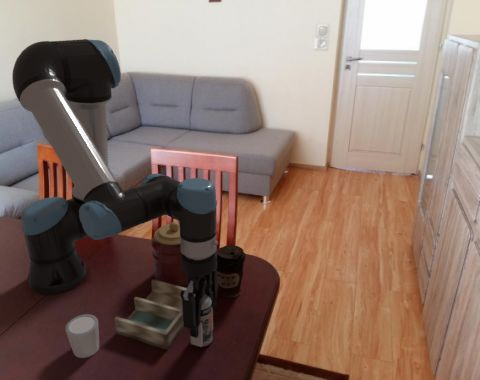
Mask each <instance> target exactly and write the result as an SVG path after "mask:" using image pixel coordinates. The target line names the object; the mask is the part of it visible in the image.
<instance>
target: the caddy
mask: <svg viewBox="0 0 480 380" xmlns="http://www.w3.org/2000/svg"><path fill="white" fill-rule="evenodd" d="M150 282H151V283H150V284H151V292H150V293H149V294H148V295H147V296H146V298H142V297H138V296H135V297H134V298H133V301H134V310H133V311H132V312H131V314H130V315H129V316H127V318H122V317H120V316H115V317H114V318H113V319H114V324H115V331H116V332H115V333H116V334H117V335H120V336H124V337H126V338H129V339H132V340H136V341H138V342H141V343H145V344H147V345H150V346H154V347H157V348H159V349H163V350H166V351H168V350H169V349H170V347H171V346H172V345H173V344H174V342H175V341H176V339H177V338H178V336H180V334H181V333H182V332H183V330H184V329H185V327H184V323H183V307H182V299H181V296H180V293H181V291H182V290H183V291H186V289H187V287H180V286H176V285H173V284H169V283H165V282H161V281H158V280H156V279H153V278H152V280H151V281H150Z"/></svg>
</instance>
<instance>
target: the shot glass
mask: <svg viewBox="0 0 480 380" xmlns="http://www.w3.org/2000/svg"><path fill="white" fill-rule="evenodd" d="M65 332H66V333H65V334H66V336H67V338H68V339H67V340H68V342H69V344H70V348H71V350H72V353H73V354H74V356H75V357H77V358H79V359H86V358H89V357H91V356H93V355H94V354H96V353H97V352H98V351H99V349H100V334H99V333H100V330H99V319H98V318H97V316H95V315H94V314H89V313H85V314H80V315H77V316H75V317H74V318H71V320H69V321H68V322H67V324H66V325H65Z"/></svg>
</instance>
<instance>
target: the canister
mask: <svg viewBox="0 0 480 380" xmlns="http://www.w3.org/2000/svg"><path fill="white" fill-rule="evenodd" d="M151 246H152V248H153V250H152V257H153V266H154V270H153V272H154V278H155V280H158V281H161V282H165V283H169V284H173V285H176V286H180V287H184V288H187V287H188V285H187V280H188V275H187V274H186V273H185V271H184V270H183V269H182V260H181V253H182V252H181V244H180V226H179V222H178V221H171V222H170V223H166V224H163V225H162V226H161V227H158V229H156V230H155V232H154V233H153V238H152V240H151Z"/></svg>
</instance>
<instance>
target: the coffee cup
mask: <svg viewBox="0 0 480 380" xmlns="http://www.w3.org/2000/svg"><path fill="white" fill-rule="evenodd" d="M216 251H217V262H218V265H217V293H218V294H219V295H220V296H221V297H224V298H235V297H238V296H240V295H241V293H242V288H241V285H242V279H243V276H244V267H245V265H244V264H245V261H246V256H247V255H246V253H245V252H244V249H243V248H242V247H240V246H237V245H234V244H231V245H230V244H229V245H225V246H222V247H219V248H217V249H216Z"/></svg>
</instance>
